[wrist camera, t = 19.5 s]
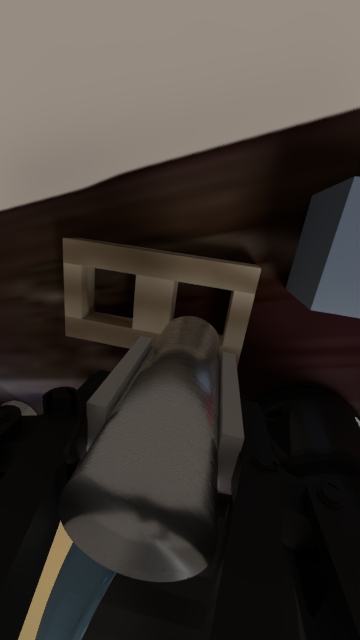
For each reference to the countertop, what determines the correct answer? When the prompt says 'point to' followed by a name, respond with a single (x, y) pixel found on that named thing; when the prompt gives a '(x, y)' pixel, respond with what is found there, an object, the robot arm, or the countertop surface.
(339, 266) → the slate blue cube
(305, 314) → the countertop surface
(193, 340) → the peg
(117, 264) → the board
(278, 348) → the countertop surface
